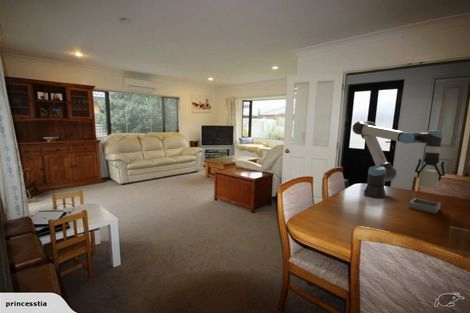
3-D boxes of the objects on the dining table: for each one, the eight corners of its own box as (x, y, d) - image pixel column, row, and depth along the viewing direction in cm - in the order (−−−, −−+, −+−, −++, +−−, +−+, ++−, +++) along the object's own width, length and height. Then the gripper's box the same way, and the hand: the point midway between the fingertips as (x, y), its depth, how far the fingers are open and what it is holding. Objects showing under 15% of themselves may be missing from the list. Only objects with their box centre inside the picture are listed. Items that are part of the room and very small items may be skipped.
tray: (409, 207, 154) (409, 202, 153) (414, 203, 163) (414, 197, 162) (435, 213, 143) (436, 208, 142) (439, 208, 152) (440, 203, 151)
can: (429, 184, 164) (431, 168, 162) (439, 188, 155) (442, 171, 153) (416, 184, 164) (418, 168, 163) (425, 187, 155) (428, 170, 154)
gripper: (412, 151, 161) (408, 181, 165) (453, 154, 146) (448, 187, 149) (414, 150, 166) (410, 179, 170) (454, 153, 151) (449, 185, 154)
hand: (427, 183), depth 159 cm, fingers closed on can, 9 cm apart
